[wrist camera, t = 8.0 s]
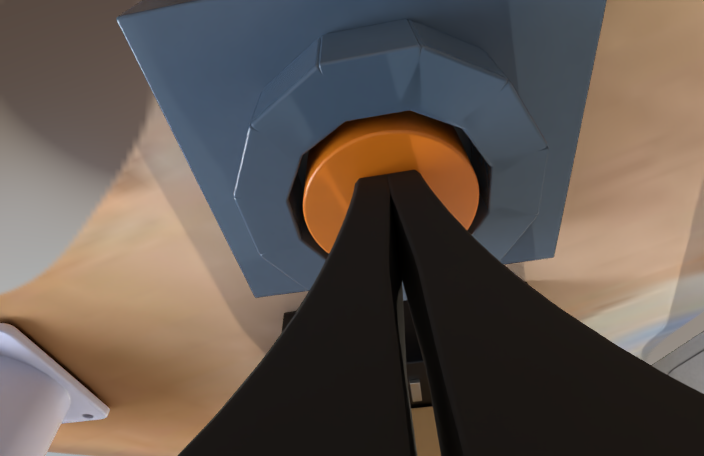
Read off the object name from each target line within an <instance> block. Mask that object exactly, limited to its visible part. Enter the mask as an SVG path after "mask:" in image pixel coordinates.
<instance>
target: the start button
mask: <svg viewBox="0 0 704 456" xmlns="http://www.w3.org/2000/svg"><path fill="white" fill-rule="evenodd" d="M409 170H416V171H418V172H419V173H420V174H421V175H422V177H423V178H424V180H425V181H426V183H427V184H428V186H429V187H430V188H431V190H432V191H433V192H434V194H435V195H436V196H437V197H438V199H439V200H440V201H441V202H442V204H443V205H444V206H445V207H446V208H447V209H448V210H449V212H450V213H451V214H452V215H453V216H454V217H455V218H456V219H457V220H458V221H459V222H460V223H461V225H462V226H463V227H464V228H465V229H466V230H468V229H469V227H470V226H471V224H472V222H473V219H474V217H475V215H476V211H477V208H478V203H479V185H478V180H477V176H476V174H475V171H474V169H473V167H472V165H471V162H470V160H469V158H468V156H467V154H466V151H465V149H464V147H463V145H462V143H461V141H460V138H459V136H458V134H457V132H456V131H455V129H454V127H453V126H452V125H450V124H447V123H444V122H441V121H438V120H436V119H433V118H430V117H427V116H424V115H421V114H418V113H416V112H413V111H410V110H409V111H403V112H397V113H391V114H386V115H380V116H374V117H368V118H362V119H356V120H350V121H346V122H344V123H343V124H342V125H341V126H339V127H338V128H337V129H336V130H334V131H333V132H332V133H330V134H329V135H328V136H327V137H325V138H324V139H323V140H322V141H320V142H319V143H318V144H316V145H315V146H314V147H313V148H311V149H310V150H309V154H308V157H307V167H306V177H305V186H304V196H303V214H304V219H305V222H306V225H307V227H308V230H309V232H310V233H311V235H312V236H313V238H314V240H315V241H316V242H317V243H318V244H319V246H320V247H321V248H323V249H324V250H325V251H326V252H327V253H328V254H329V253H330V251H331V249H332V247H333V245H334V243H335V240H336V238H337V235H338V233H339V231H340V228H341V226H342V224H343V221H344V219H345V216H346V213H347V210H348V208H349V205H350V202H351V198H352V195H353V191H354V186H355V183H356V182H357V180H358V179H359V178H365V177H371V176H377V175H384V174H390V173H396V172H402V171H409Z"/></svg>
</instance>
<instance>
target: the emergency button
mask: <svg viewBox="0 0 704 456" xmlns="http://www.w3.org/2000/svg"><path fill="white" fill-rule="evenodd" d="M651 366H653V367H655V368H656V369H658V370H660V371H661V372H663V373H665V374H667V375H669V376H670V377H672V378H674V379H676V380H678V381H680V382H682V383H684V384H686V385H688V386H689V387H691V388H693V389H695V390H697V391H699V392H701V393H703V394H704V331H703V332H701V333H700V334H698V335H697V336H695V337H694V338H692V339H691V340H689V341H688V342H686V343H685V344H683V345H682V346H680V347H678V348H677V349H675V350H674V351H672V352H671V353H669V354H668V355H666V356H665V357H663V358H662V359H660V360H659V361H657V362H656V363H654V364H653V365H651Z"/></svg>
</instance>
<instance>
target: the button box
mask: <svg viewBox="0 0 704 456" xmlns="http://www.w3.org/2000/svg"><path fill="white" fill-rule="evenodd" d="M606 1H607V0H142V1H141V2H139V3H138V4H136V5H135V6H133V7H131V8H130V9H128V10H127V11H125V12H124V13H122V14H121V15H119V16H118V17H117V22H118V24H119V26H120V28H121V30H122V32H123V34H124V36H125V38H126V40H127V42H128V44H129V46H130V48H131V50H132V52H133V54H134V56H135V58H136V60H137V62H138V64H139V66H140V68H141V70H142V72H143V74H144V76H145V78H146V80H147V82H148V84H149V86H150V88H151V90H152V92H153V94H154V96H155V98H156V100H157V102H158V104H159V106H160V108H161V110H162V112H163V114H164V116H165V118H166V120H167V122H168V124H169V126H170V128H171V130H172V132H173V134H174V136H175V138H176V140H177V142H178V144H179V146H180V148H181V150H182V152H183V154H184V156H185V158H186V160H187V162H188V164H189V166H190V168H191V170H192V172H193V174H194V176H195V178H196V180H197V182H198V184H199V186H200V188H201V190H202V192H203V194H204V196H205V198H206V200H207V202H208V204H209V206H210V208H211V210H212V212H213V214H214V216H215V218H216V220H217V222H218V224H219V226H220V228H221V230H222V232H223V234H224V236H225V238H226V240H227V242H228V244H229V246H230V248H231V250H232V252H233V254H234V256H235V258H236V260H237V262H238V264H239V266H240V268H241V270H242V272H243V274H244V276H245V278H246V280H247V282H248V284H249V286H250V288H251V290H252V292H253V294H254V296H255V298H259V297H266V296H273V295H281V294H288V293H296V292H303V291H309V290H310V289H311V287H312V285H313V284H314V282H315V280H316V278H317V276H318V275H319V273H320V271H321V269H322V267H323V265H324V263H325V261H326V259H327V257H328V255H329V254H328V253H327V252H326V251H325V250H324V249H323V248H321V247H320V246H319V244H318V243H317V242H316V241H315V240H314V238H313V236H312V235H311V233H310V232H309V230H308V227H307V225H306V222H305V219H304V214H303V196H304V186H305V177H306V167H307V157H308V154H309V150H310V149H311V148H313V147H314V146H315V145H316V144H318V143H319V142H320V141H322V140H323V139H324V138H325V137H327V136H328V135H329V134H330V133H332V132H333V131H334V130H336V129H337V128H338V127H339V126H341V125H342V124H343V123H344V122H346V121H350V120H356V119H362V118H368V117H374V116H380V115H386V114H391V113H397V112H403V111H409V110H410V111H413V112H416V113H418V114H421V115H424V116H427V117H430V118H433V119H436V120H438V121H441V122H444V123H447V124H450V125H452V126H453V127H454V129H455V131H456V132H457V134H458V136H459V138H460V141H461V143H462V145H463V147H464V149H465V151H466V154H467V156H468V158H469V160H470V162H471V165H472V167H473V169H474V171H475V174H476V176H477V180H478V185H479V203H478V208H477V211H476V215H475V217H474V219H473V222H472V224H471V226H470V227H469V229H468V230H467V231H468V232H469V233H470V234H471V235H472V236H473V237H474V238H475V239H476V240H477V241H478V242H479V243H480V244H481V245H482V246H484V247H485V248H486V249H487V250H488V251H489V252H490V253H491V254H492V255H493V256H494V257H495V258H497V259H498V260H499V261H500V262H501V263H502V264H510V263H517V262H525V261H532V260H540V259H547V258H553V257H554V254H555V249H556V245H557V240H558V235H559V230H560V225H561V220H562V215H563V211H564V206H565V201H566V196H567V191H568V186H569V181H570V177H571V172H572V167H573V162H574V157H575V152H576V147H577V142H578V138H579V133H580V128H581V123H582V118H583V113H584V108H585V104H586V99H587V94H588V89H589V84H590V79H591V74H592V70H593V65H594V60H595V55H596V50H597V45H598V40H599V36H600V31H601V26H602V21H603V16H604V11H605V6H606ZM402 287H403V301H404V300H407V297H406V293H405V289H404V286H403V282H402Z"/></svg>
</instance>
